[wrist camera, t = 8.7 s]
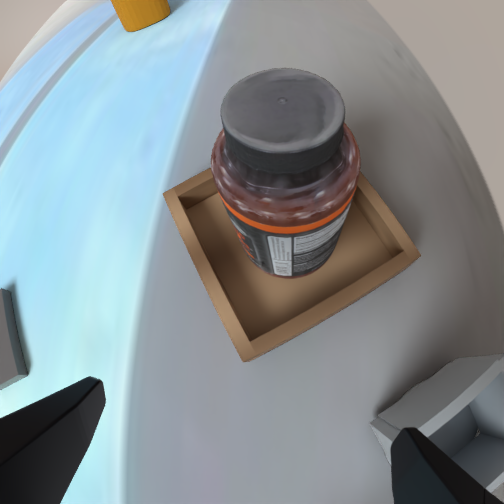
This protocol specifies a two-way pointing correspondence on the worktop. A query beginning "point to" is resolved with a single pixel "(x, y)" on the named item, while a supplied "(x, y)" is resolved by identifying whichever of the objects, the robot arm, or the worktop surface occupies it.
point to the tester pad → (9, 344)
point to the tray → (280, 289)
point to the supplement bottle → (285, 169)
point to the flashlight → (140, 12)
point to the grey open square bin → (456, 416)
